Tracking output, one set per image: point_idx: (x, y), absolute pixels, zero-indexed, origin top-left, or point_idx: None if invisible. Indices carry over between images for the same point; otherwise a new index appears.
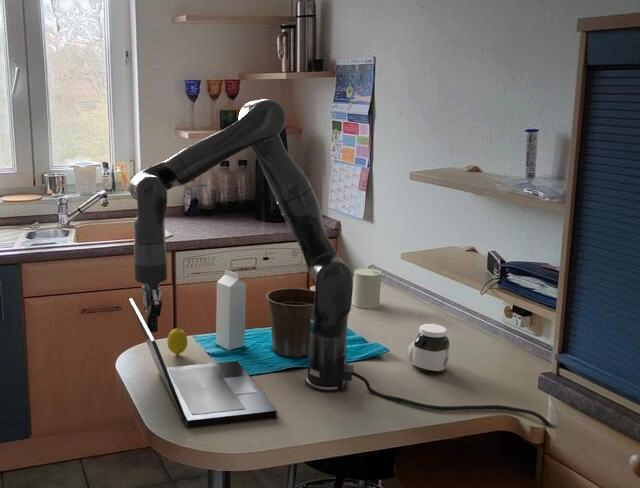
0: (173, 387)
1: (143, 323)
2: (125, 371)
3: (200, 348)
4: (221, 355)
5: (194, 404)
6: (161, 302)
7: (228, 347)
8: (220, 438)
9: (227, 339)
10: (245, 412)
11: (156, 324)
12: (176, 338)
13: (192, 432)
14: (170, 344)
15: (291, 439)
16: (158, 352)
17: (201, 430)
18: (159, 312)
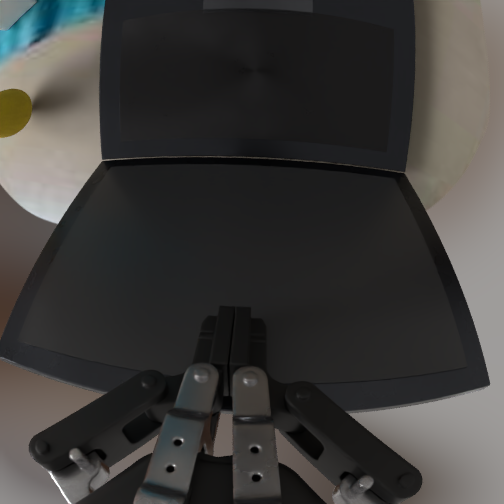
0: (439, 238)
1: None
2: None
3: (13, 59)
4: (51, 13)
5: (340, 127)
6: (419, 482)
7: (32, 1)
8: (450, 126)
9: (18, 1)
10: (408, 38)
11: (250, 335)
12: (9, 117)
13: (415, 165)
14: (16, 130)
15: (477, 21)
16: (477, 343)
17: (414, 145)
18: (345, 416)
